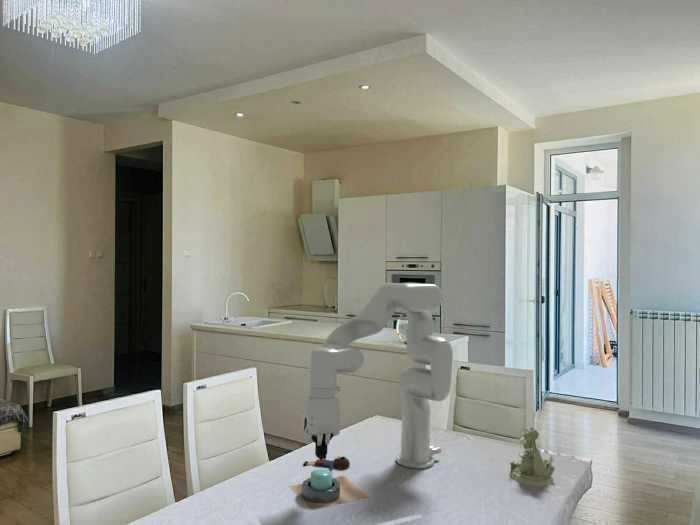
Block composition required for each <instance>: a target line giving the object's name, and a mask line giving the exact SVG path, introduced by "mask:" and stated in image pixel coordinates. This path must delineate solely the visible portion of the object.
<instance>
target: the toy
mask: <svg viewBox="0 0 700 525" xmlns="http://www.w3.org/2000/svg"><path fill="white" fill-rule="evenodd" d="M349 460H350V459H348V458H346V457H345V456H344V455H343V456H337V457H335V458H334V460H329V459H322V460H320V459H319V458H316V460H312V461H308V460H306V461H304V463H303V464H302V467H309V466H315V467H323V468H324V469H325V468H328V469H329V471H331V472H332V471H333V470H334V469H338V470H347V469H350V466H351V465H350V461H349Z"/></svg>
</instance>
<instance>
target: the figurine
mask: <svg viewBox="0 0 700 525" xmlns="http://www.w3.org/2000/svg"><path fill="white" fill-rule="evenodd" d="M538 437H539V432H538V430H537V429H534V427H533V426H532V427H531V428H529V429H528V428H525V429H524V433H523V434H522V436H521V438H520V440H519V441H518V442H519V443H521V444H523V448H524V452H523V455H520V454H521V453H518V456H519V457H520V458H521V459H520V460H519V461H515V460H513V459H512V460H511V462H509V463H510V464H509V465H510V471H509V474H510V475H509V477H510V476H511V477H512V478H513V479H514V480H513V479H512V478H511V477H510V478H511V479H512V480H513V481H515V480H516V481H515V482H517V481H518V482H517V483H519V482H521V483H520V484H522V483H523V485H525V484H527V486H530V485H534V486H533V487H546V486H545V485H548V486H550V485H549V484H551V483H553V481H554V482H555V480H554V477H553V474H554V471H555V469H556V468H555V466H553V465H552V463H553V461H554V459H555V457H553V454H551V455H550V457H549V459H547V458H543V457H542V455H541V452H540V450H539V448H538V447H537V442H536V440H537V439H538ZM553 484H554V483H553ZM551 485H552V484H551Z"/></svg>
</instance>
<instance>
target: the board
mask: <svg viewBox="0 0 700 525" xmlns="http://www.w3.org/2000/svg"><path fill="white" fill-rule="evenodd" d="M333 478H334V479H336V480H338V481H339V482H340V498H338V499H337V500H335V501H334V502H329V503H325V504H324V503H312V502H309V501H306V500H305V499H304V498H303V497H302V484H303V483H299V484H294V485H289V488H290V489H291V490H292V491H293V492H294V493H295V494H296V495H297V497H298V498H300V500H301V501H303V502H304V504H305V505H306V506H307V507H308V508H309V509H311V511H312V510H313V511H314V510H318V509H323V508H326V507H330V506H335V505H339V504H344V503H348V502H349V503H350V502H353V501H357V500H361V499H366V498H371V495H369V494H368V493H367V492H366V491H364V490H363V489H362V488H361V487H360V486H359V485H357V484H355V483H354V482H353V481H351V480H350V479H349V478H348V477H347V476H345V475H340V476H337V477H336V476H335V477H333Z"/></svg>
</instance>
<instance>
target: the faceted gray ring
mask: <svg viewBox="0 0 700 525" xmlns="http://www.w3.org/2000/svg"><path fill="white" fill-rule="evenodd" d="M301 484H302V497H303V498H304V499H305V500H306V501H309V502H312V503H324V504H325V503H329V502H334V501H335V500H337V499H338V498H340V482H339V481H338V480H336V479H334V477H332V488H331V489H326V490H316V489H312V488H311V477H308V478H307V479H305V480H303V481H302V483H301Z"/></svg>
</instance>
